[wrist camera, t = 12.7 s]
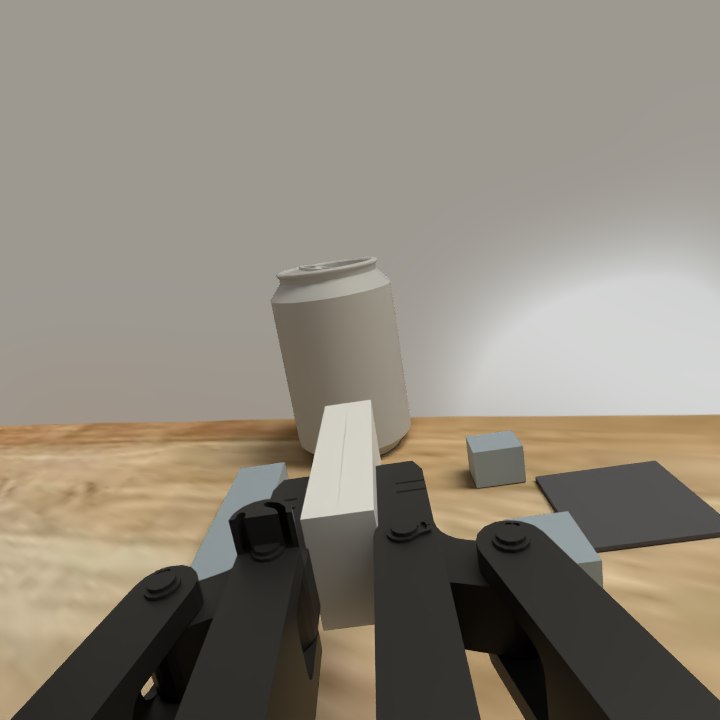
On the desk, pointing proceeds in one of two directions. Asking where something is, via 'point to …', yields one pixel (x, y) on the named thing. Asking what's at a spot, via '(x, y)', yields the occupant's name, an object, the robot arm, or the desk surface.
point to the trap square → (630, 506)
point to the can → (341, 346)
